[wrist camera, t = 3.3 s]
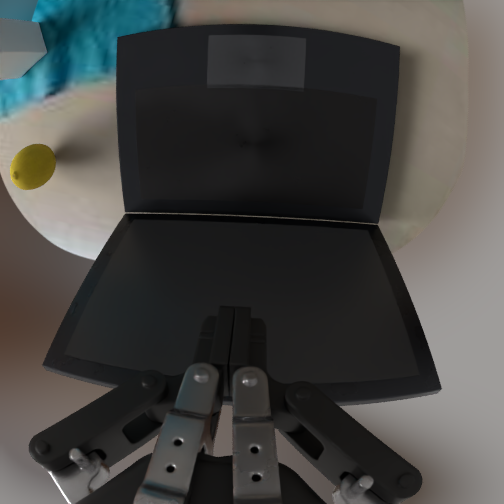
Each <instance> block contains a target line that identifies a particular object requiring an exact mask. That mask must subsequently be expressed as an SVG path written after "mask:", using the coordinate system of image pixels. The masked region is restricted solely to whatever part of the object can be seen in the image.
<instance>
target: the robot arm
mask: <svg viewBox="0 0 504 504" xmlns="http://www.w3.org/2000/svg"><path fill="white" fill-rule="evenodd" d="M266 342H267V338H266V325H265V323H264V321H263V319H262V318H251V307H239V306H236V311H235V306H221V305H220V306H219V311H218V316H210V315H208V316H207V317H206V318H205V320H204V321H203V322H202V325H201V329H200V333H199V337H198V341H197V346H196V350H195V354H194V359H193V363H192V365H191V366H190V367H188V369H187V370H186V372H184V373H182V374H179V375H174V376H167V377H165V376H164V375H163V374H162V373H161V372H159V371H157V370H144V371H142V372H140V373H138V374H137V375H135V376H134V377H132V378H130V379H129V380H127V381H126V382H124V383H122V384H121V385H119V386H118V387H116V388H114V389H113V390H111V391H110V392H108V393H106V394H105V395H103V396H101V397H100V398H98V399H96V400H95V401H93V402H91V403H90V404H88V405H87V406H85V407H83V408H81V409H80V410H78V411H76V412H75V413H73V414H71V415H70V416H68V417H67V418H64V419H63V420H61V421H59V422H58V423H56V424H54V425H52V426H51V427H49V428H47V429H46V430H44V431H42V432H40V433H38V434H37V435H35V436H34V437H33V438H32V439H31V441H30V444H29V452H30V455H31V457H32V458H33V459H34V460H35V461H36V462H38V463H39V464H40V465H41V466H42V467H43V468H44V469H46V470H47V471H48V472H49V473H50V474H51V476H52V478H53V480H54V481H55V483H56V485H57V486H58V488H59V489H60V491H61V493H62V494H63V496H64V497H65V499H66V500H67V502H68V503H69V504H326V503H325V502H324V501H323V500H322V499H321V498H320V497H319V496H318V495H317V494H316V493H315V492H314V491H313V490H312V489H311V488H310V487H309V486H308V484H307V483H306V482H305V481H304V480H303V479H302V478H301V477H300V476H299V475H298V474H297V473H296V472H295V471H293V470H292V469H291V468H289V467H287V466H286V465H284V464H281V463H279V462H278V458H277V448H276V438H275V428H276V429H279V432H280V433H281V434H282V435H283V436H284V437H285V438H286V439H287V440H288V441H289V442H290V443H291V444H292V445H293V446H294V447H295V448H296V449H297V450H298V451H299V452H300V453H301V454H302V455H303V456H304V457H305V458H306V459H307V460H308V461H309V462H310V463H311V464H312V465H313V466H314V467H315V468H317V469H318V470H319V471H320V472H321V473H322V474H323V475H324V476H325V477H326V478H327V479H328V480H330V481H331V482H332V483H333V484H334V485H335V486H336V487H335V489H334V491H333V495H332V496H333V501H334V503H335V504H399V503H401V502H403V501H405V500H406V499H408V498H410V497H412V496H413V495H415V494H416V493H417V492H418V491H419V490H420V488H421V485H422V476H421V473H420V472H419V470H417V469H416V468H415V467H414V466H413V465H411V464H410V463H408V462H407V461H406V460H405V459H403V458H402V457H401V456H399V455H398V454H397V453H396V452H394V451H393V450H392V449H391V448H389V447H388V446H387V445H385V444H384V443H383V442H382V441H380V440H379V439H378V438H377V437H375V436H374V435H373V434H372V433H371V432H369V431H368V430H367V429H366V428H364V427H363V426H362V425H361V424H360V423H358V422H357V421H356V420H355V419H354V418H352V417H351V416H350V415H349V414H348V413H346V412H345V411H344V410H343V409H342V408H340V407H339V406H338V405H337V404H336V403H335V402H333V401H332V400H331V399H330V398H329V397H328V396H327V395H325V394H324V393H323V392H322V391H321V390H320V389H318V388H317V387H316V386H315V385H314V384H312V383H310V382H306V381H297V382H294V383H292V384H290V385H287V384H284V383H280V382H278V381H276V380H274V379H273V378H272V377H271V376H270V375H269V374H268V372H267V343H266ZM229 389H230V396H233V421H232V422H233V423H232V424H233V426H232V427H233V455H231V456H223V457H214V456H213V455H214V443H215V438H216V434H217V429H218V424H219V420H220V415H221V410H222V409H221V407H222V404H223V396H229ZM158 434H159V436H158V439H157V442H156V445H155V448H154V451H153V453H151V454H148V455H146V456H144V457H142V458H141V459H139V460H138V461H136V462H135V463H134V464H132V465H131V466H130V467H128V468H127V469H125V470H124V471H123V472H121V473H120V474H118V475H117V476H116V477H114V478H113V479H111V480H110V481H108V482H107V483H105V482H106V481H107V480H108V478H109V475H110V470H109V467H111V466H112V465H114V464H116V463H117V462H119V461H120V460H122V459H123V458H125V457H126V456H127V455H129V454H131V453H132V452H134V451H135V450H137V449H138V448H140V447H141V446H143V445H144V444H145V443H147V442H148V441H150V440H151V439H152V438H154V437H155V436H157V435H158ZM104 483H105V484H104ZM103 484H104V485H103Z"/></svg>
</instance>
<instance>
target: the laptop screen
mask: <svg viewBox="0 0 504 504" xmlns="http://www.w3.org/2000/svg"><path fill="white" fill-rule="evenodd" d="M220 305H221V306H235V311H236V306H239V307H251V318H262V319H263V321H264V323H265V325H266V338H267V342H266V343H267V372H268V374H269V375H270V376H271V377H272V378H273V379H274V380H276V381H278V382H280V383H284V384H287V385H290V384H292V383H294V382H297V381H306V382H310V383H312V384H314V385H315V386H316V387H317V388H318V389H320V390H321V391H322V392H323V393H324V394H325V395H327V396H328V397H329V398H330V399H331V400H332V401H333V402H335V403H336V404H337V405H338V406H345V405H359V404H370V403H379V402H387V401H395V400H402V399H408V398H414V397H421V396H427V395H432V394H437V393H438V392H439V391H440V390H441V389H442V388H441V384H440V381H439V377H438V374H437V371H436V368H435V364H434V361H433V358H432V355H431V352H430V349H429V346H428V343H427V340H426V338H425V335H424V331H423V329H422V326H421V323H420V320H419V318H418V315H417V313H416V310H415V307H414V305H413V302H412V300H411V297H410V295H409V292H408V290H407V287H406V285H405V283H404V280H403V278H402V276H401V273H400V271H399V269H398V267H397V264H396V262H395V260H394V258H393V255H392V253H391V251H390V249H389V247H388V245H387V243H386V241H385V238H384V236H383V234H382V232H381V230H380V228H379V226H378V225H372V224H360V223H346V222H332V221H317V220H301V219H284V218H265V217H243V216H218V215H186V214H131V213H126V214H125V215H124V216H123V218H122V219H121V221H120V222H119V224H118V225H117V227H116V228H115V230H114V231H113V233H112V235H111V236H110V238H109V239H108V241H107V242H106V244H105V246H104V247H103V249H102V251H101V252H100V254H99V255H98V257H97V259H96V260H95V262H94V264H93V266H92V267H91V269H90V271H89V272H88V274H87V276H86V278H85V279H84V281H83V283H82V285H81V287H80V289H79V290H78V292H77V294H76V296H75V298H74V300H73V301H72V303H71V305H70V307H69V309H68V311H67V313H66V315H65V317H64V319H63V321H62V323H61V325H60V327H59V329H58V331H57V334H56V336H55V338H54V340H53V342H52V344H51V347H50V348H49V351H48V353H47V355H46V358H45V360H44V362H43V364H42V366H43V367H44V368H45V369H46V370H47V371H51V372H54V373H57V374H60V375H63V376H67V377H70V378H74V379H77V380H81V381H85V382H89V383H92V384H97V385H101V386H105V387H109V388H113V389H114V388H116V387H118V386H119V385H121V384H122V383H124V382H126V381H127V380H129V379H130V378H132V377H134V376H135V375H137V374H138V373H140V372H142V371H144V370H157V371H159V372H161V373H162V374H163V375H164V376H165V377H167V376H174V375H179V374H182V373H184V372H186V370H187V369H188V367H190V366H191V365H192V363H193V359H194V354H195V350H196V346H197V341H198V337H199V333H200V329H201V325H202V322H203V321H204V320H205V318H206V317H207V316H208V315H210V316H218V311H219V306H220ZM222 405H232V406H233V396H230V389H229V396H223V404H222Z"/></svg>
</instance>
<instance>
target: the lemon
mask: <svg viewBox="0 0 504 504" xmlns="http://www.w3.org/2000/svg"><path fill="white" fill-rule="evenodd" d="M55 166H56V159H55V155H54V153H53V151H52V150H51V149H50V148H49V147H48V146H46V145H43V144H33V145H30V146H27V147H25V148H24V149H22V150H21V151H20V152H19V153H18V154H17V155H16V156H15V157H14V159H13V161H12V163H11V167H10V175H11V179H12V181H13V183H14V184H15V185H16V186H17V187H18V188H20V189H23V190H31V189H35V188H38V187H40V186H42V185H44V184H45V183H46V182H47V181H48V180H49V179H50V178H51V176H52V175H53V173H54V170H55Z"/></svg>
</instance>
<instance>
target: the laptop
mask: <svg viewBox="0 0 504 504" xmlns="http://www.w3.org/2000/svg"><path fill="white" fill-rule="evenodd" d="M399 57H400V47H399V46H396V45H392V44H389V43H385V42H381V41H377V40H373V39H368V38H364V37H359V36H354V35H349V34H344V33H338V32H332V31H325V30H318V29H310V28H301V27H291V26H278V25H257V24H222V25H201V26H188V27H178V28H169V29H161V30H154V31H147V32H141V33H136V34H130V35H125V36H120V37H118V39H117V64H116V105H117V131H118V147H119V161H120V172H121V182H122V191H123V199H124V207H125V212H150V213H196V214H226V215H250V216H271V217H289V218H306V219H322V220H336V221H350V222H363V223H375V224H378V222H379V217H380V213H381V208H382V203H383V197H384V192H385V186H386V181H387V175H388V169H389V162H390V156H391V149H392V141H393V133H394V125H395V115H396V105H397V93H398V79H399Z"/></svg>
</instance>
